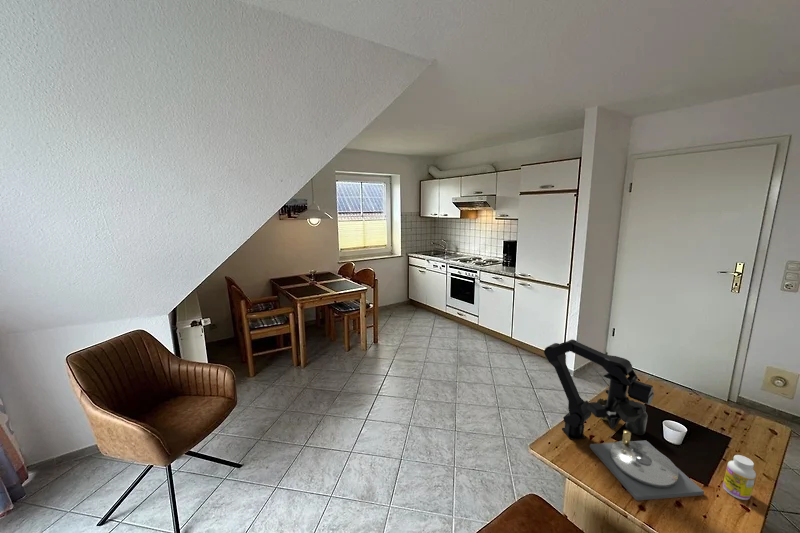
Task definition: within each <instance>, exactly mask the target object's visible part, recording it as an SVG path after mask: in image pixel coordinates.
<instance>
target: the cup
mask: <svg viewBox="0 0 800 533" xmlns="http://www.w3.org/2000/svg"><path fill="white" fill-rule="evenodd" d="M605 400H606V399H604V398H599V399H597V401H596V402H599V403H600V404H601V405H602V406H603V405H607V404H606V403H605V402H604V401H605ZM600 419H601V420H603V421H604V422H605V421H606V422H608V419H607V417H602V418H600Z"/></svg>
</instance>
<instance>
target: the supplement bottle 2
mask: <svg viewBox="0 0 800 533" xmlns="http://www.w3.org/2000/svg"><path fill="white" fill-rule="evenodd" d="M732 459H733V460H729V461H728V462H727V466H726V470H725V475H724V477H723V482H722V488H723V489H724V490H725V492H726V493H727V494H729V495H731V496H732V497H734V498H735V499H738V500H743V501H748V500H750V498H751V496H752V493H753V488H754V484H755V481H756V477H757V473H756V471H755V470H754V466H755V463H754V462H753V460H752V459H750V458H748V457H746V456H744V455H741V454H735V455H734V456H733V458H732Z"/></svg>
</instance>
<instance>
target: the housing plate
mask: <svg viewBox="0 0 800 533" xmlns="http://www.w3.org/2000/svg"><path fill="white" fill-rule="evenodd" d="M632 441H633V440H632ZM616 442H617V441H616ZM616 442H602V443H590V444H589V448H590V449H591V450H592V452H593V453H594V454H595V455H596V456H597V457H598V458H599V460H600V461H601V462H602V463H603V465H605V467H606V468H607V469H608V470H609V471H610V472H611V473H612V475H613V476H614V477H615V478H616V479H617V480H618V481H619V482H620V484H621V485H622V486H623V487H624V488H625V489H626V491H628V493H629V494H630V496H632V497H633V498H634V500H635V501H637V502H638V501H646V500H647V501H649V500H650V501H651V500H662V499H673V498H685V497H696V496H704V494H705V490H703V489H702V488H701V487H700V486H699V485H698V484H697V483H695V481H693V480H692V479H691V478H689V476H687V475H686V474H685V473H684V472H683V471H682V470H681V469H680V468H679V467H677V466H676V468H677V470H678V480H677V483H676V484H675V485H674V486H672V487H670V488H656V487H651V486H648V485H645V484H642V483H640V482H638V481H635V480H634V479H632V478H630V477H628V476H627V475H626V474H624V473H623V472H622V471H620V470H619V469H618V468H617V467H616V465H615V464H614V463H613V461H612V459H611V456H610V452H611V447H612V445H613V444H614V443H616ZM633 442H638V443H641V444H644V445H647V446H649V447H651V448H653V449H655V450H657V451H659V450H658V449H657V448H655V446H653V445H652V444H651V443H650V442H649V441H647V439H646V440H634V441H633Z"/></svg>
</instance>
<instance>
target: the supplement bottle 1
mask: <svg viewBox="0 0 800 533" xmlns="http://www.w3.org/2000/svg"><path fill="white" fill-rule="evenodd" d="M635 402H636V403H637V404H639V405H640V406H641V407H642V408H643V410H644V411H643V415H641V418H637V419H636V420H635V421H634V422H632V421H631V422H625V428H626V430H627V431H630V432H631V434H634V435H637V436H643V435H644V434H645V433H646V428H647V423H648V413H647V412H646V409H647V406H646V404H645V403H643V402H640V401H635Z"/></svg>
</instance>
